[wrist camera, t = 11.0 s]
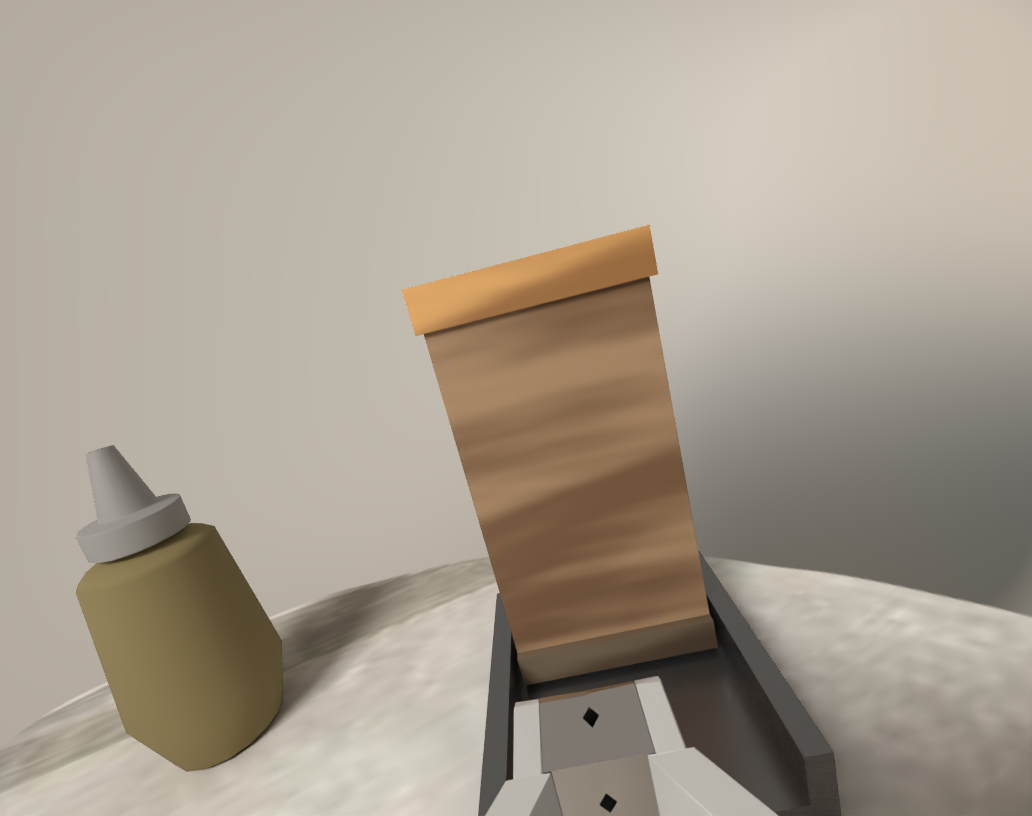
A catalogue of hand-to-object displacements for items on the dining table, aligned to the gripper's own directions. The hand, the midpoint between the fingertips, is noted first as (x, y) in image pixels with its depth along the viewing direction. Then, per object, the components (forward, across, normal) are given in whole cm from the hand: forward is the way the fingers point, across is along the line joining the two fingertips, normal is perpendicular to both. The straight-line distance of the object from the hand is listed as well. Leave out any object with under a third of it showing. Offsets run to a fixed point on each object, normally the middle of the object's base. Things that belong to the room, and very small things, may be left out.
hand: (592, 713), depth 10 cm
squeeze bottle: (+16, +22, +13) cm, 30 cm away
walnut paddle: (+15, -1, +11) cm, 18 cm away
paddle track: (+12, -1, +12) cm, 17 cm away
